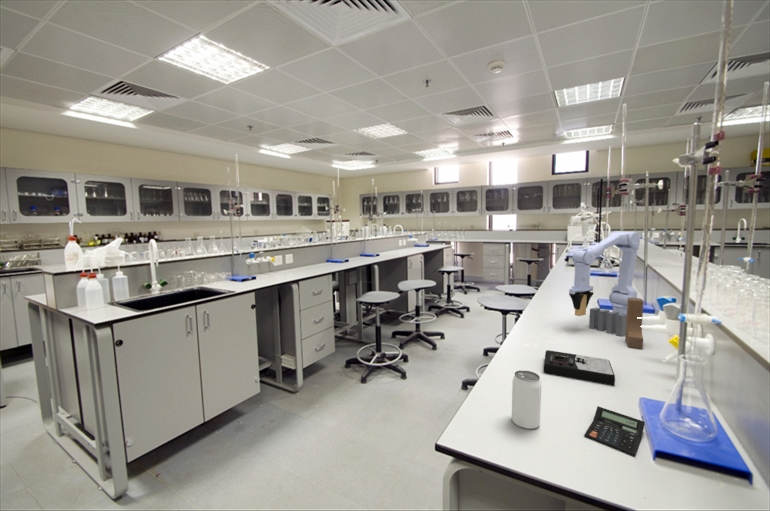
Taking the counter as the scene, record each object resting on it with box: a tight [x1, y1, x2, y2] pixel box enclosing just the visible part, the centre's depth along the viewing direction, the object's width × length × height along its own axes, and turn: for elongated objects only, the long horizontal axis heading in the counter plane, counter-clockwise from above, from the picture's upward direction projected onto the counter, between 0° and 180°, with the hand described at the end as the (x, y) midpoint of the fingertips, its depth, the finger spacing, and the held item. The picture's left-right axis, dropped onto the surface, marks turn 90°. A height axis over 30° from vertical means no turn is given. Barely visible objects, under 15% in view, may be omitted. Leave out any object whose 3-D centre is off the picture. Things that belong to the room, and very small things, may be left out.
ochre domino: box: [574, 294, 587, 317], centre depth 145 cm, size 5×2×9 cm, turn 119°
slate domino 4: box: [615, 313, 627, 338], centre depth 141 cm, size 5×2×9 cm, turn 118°
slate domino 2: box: [597, 309, 611, 332], centre depth 147 cm, size 5×2×9 cm, turn 118°
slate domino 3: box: [606, 310, 619, 335], centre depth 144 cm, size 5×2×9 cm, turn 118°
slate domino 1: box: [588, 307, 602, 330], centre depth 151 cm, size 5×2×9 cm, turn 118°
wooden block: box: [624, 297, 644, 350], centre depth 129 cm, size 9×4×18 cm, turn 150°
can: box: [511, 369, 542, 430], centre depth 80 cm, size 6×6×12 cm
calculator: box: [583, 405, 646, 458], centre depth 76 cm, size 9×12×3 cm
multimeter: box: [543, 349, 616, 387], centre depth 108 cm, size 13×19×5 cm
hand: (580, 308), depth 146 cm, fingers closed on ochre domino, 5 cm apart
